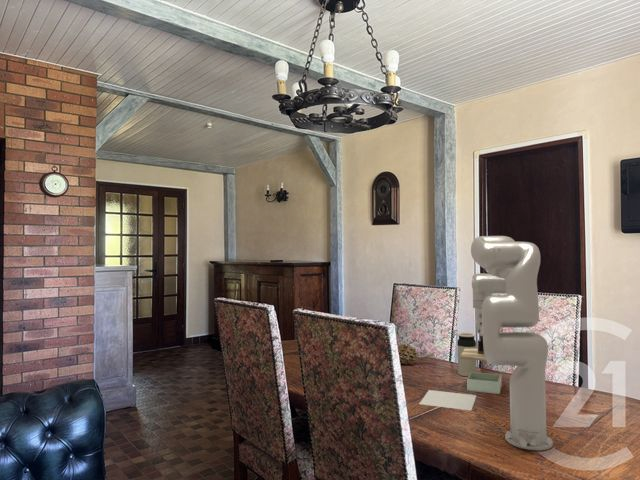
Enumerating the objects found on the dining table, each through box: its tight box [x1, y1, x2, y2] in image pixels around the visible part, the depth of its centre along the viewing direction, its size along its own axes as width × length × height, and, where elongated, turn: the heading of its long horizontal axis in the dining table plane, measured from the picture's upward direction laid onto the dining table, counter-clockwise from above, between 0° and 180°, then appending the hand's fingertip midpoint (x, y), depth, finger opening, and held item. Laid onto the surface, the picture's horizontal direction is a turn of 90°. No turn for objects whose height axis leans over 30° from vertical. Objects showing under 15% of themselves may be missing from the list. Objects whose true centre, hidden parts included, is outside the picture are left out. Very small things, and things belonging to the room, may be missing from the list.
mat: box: [418, 389, 477, 412], centre depth 170 cm, size 18×18×1 cm
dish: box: [466, 371, 502, 395], centre depth 184 cm, size 12×12×5 cm
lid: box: [460, 339, 487, 362], centre depth 184 cm, size 16×16×6 cm
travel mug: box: [456, 332, 478, 378], centre depth 206 cm, size 8×8×18 cm
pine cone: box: [397, 343, 435, 365], centre depth 226 cm, size 22×10×10 cm, turn 90°
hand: (483, 349), depth 184 cm, fingers closed on lid, 4 cm apart
